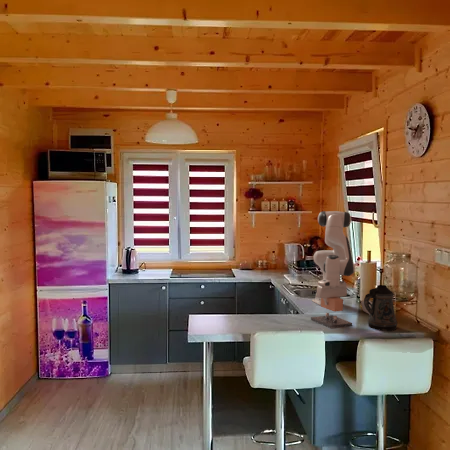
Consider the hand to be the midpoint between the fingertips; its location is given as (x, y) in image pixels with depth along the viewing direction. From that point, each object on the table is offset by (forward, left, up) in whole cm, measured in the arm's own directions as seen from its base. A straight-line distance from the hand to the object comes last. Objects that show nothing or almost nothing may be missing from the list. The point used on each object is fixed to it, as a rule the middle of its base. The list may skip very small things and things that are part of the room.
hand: (331, 304), depth 285 cm
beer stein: (+20, +21, -12) cm, 31 cm away
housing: (0, 0, -3) cm, 3 cm away
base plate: (0, 0, -11) cm, 11 cm away
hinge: (-11, +38, -12) cm, 41 cm away
